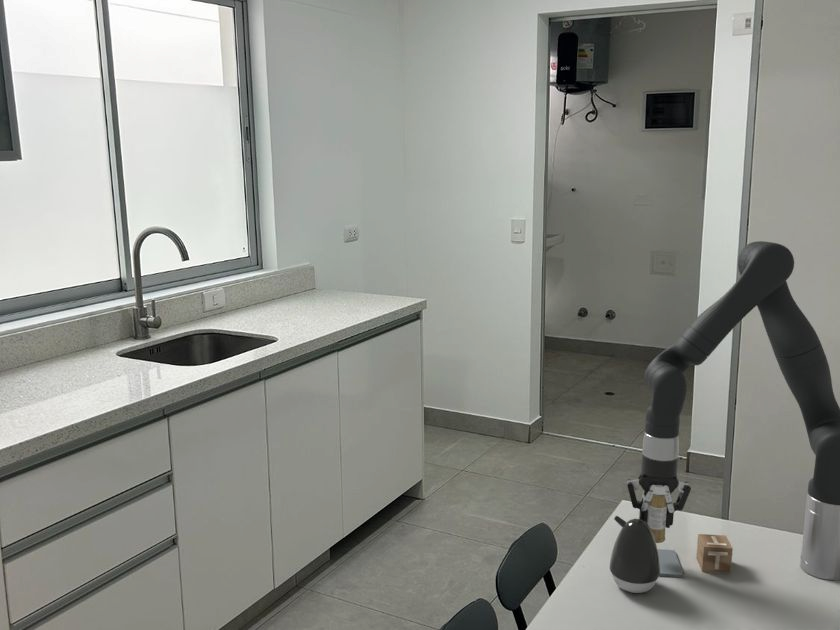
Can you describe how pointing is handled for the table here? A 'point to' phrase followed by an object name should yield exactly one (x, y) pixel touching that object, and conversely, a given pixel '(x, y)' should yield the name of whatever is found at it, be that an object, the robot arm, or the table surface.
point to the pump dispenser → (635, 557)
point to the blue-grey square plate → (669, 563)
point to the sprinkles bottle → (657, 513)
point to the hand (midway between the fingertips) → (655, 525)
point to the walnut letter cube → (714, 553)
